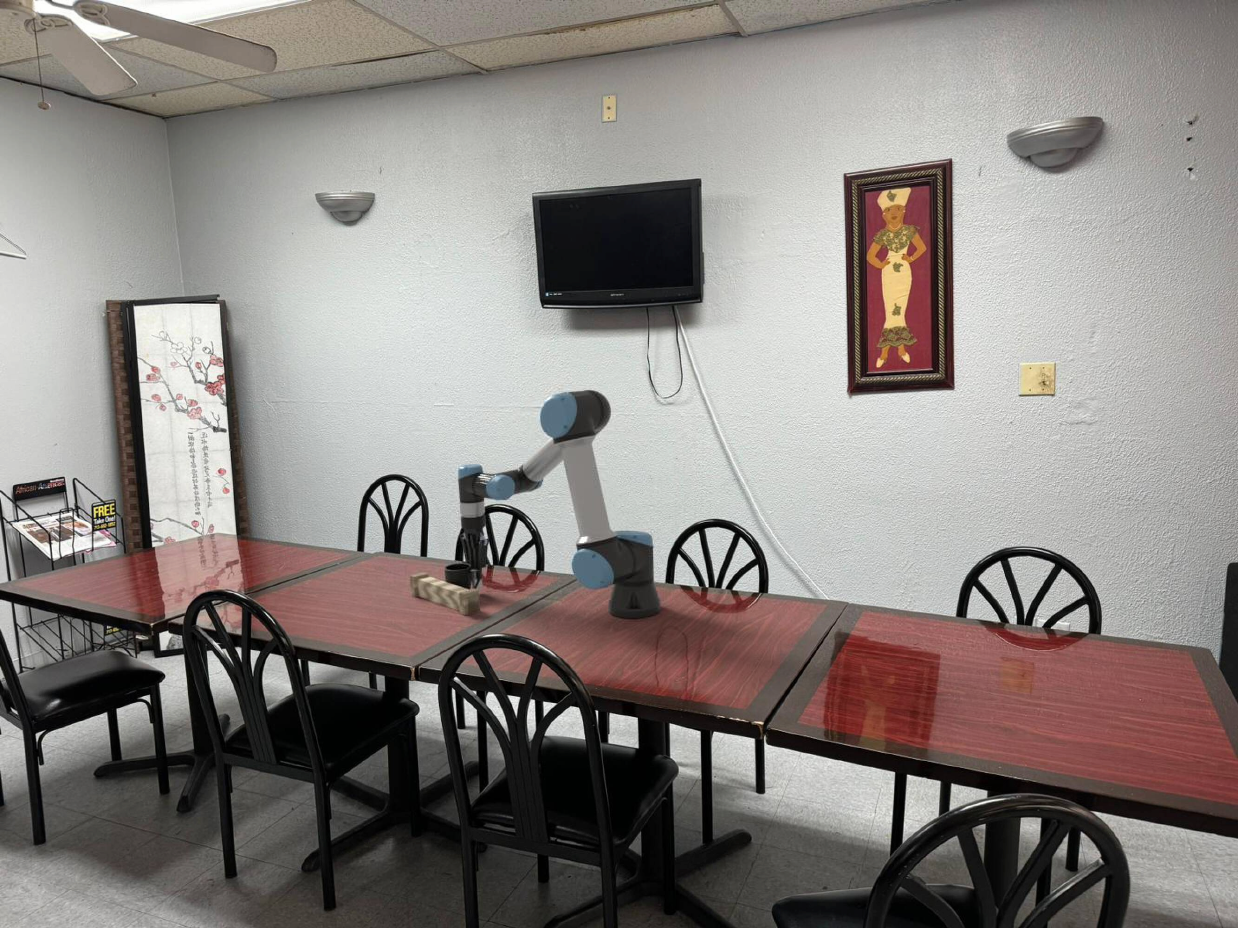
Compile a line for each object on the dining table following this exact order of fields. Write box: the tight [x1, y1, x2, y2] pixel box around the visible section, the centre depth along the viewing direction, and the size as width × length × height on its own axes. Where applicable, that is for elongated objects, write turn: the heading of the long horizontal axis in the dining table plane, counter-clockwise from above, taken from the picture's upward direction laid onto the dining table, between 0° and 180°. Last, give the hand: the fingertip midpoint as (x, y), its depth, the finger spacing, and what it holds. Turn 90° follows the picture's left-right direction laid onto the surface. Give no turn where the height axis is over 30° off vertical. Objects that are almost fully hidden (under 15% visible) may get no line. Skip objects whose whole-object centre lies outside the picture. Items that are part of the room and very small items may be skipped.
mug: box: [443, 562, 483, 590], centre depth 272 cm, size 8×12×10 cm
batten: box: [409, 571, 481, 616], centre depth 267 cm, size 30×5×6 cm, turn 44°
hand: (477, 588), depth 276 cm, fingers closed
